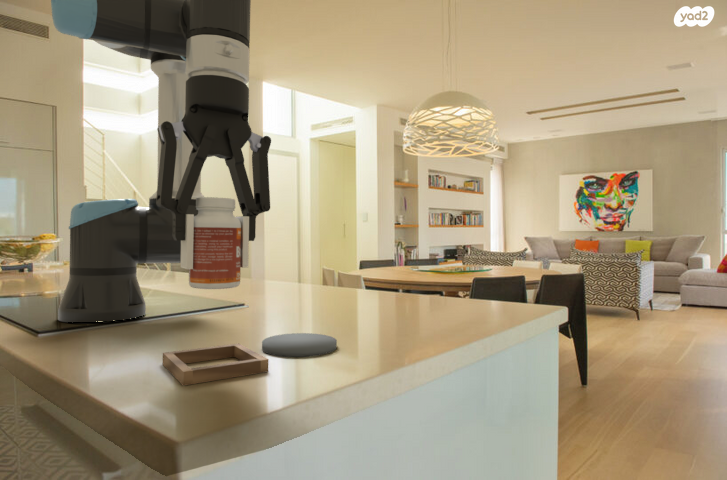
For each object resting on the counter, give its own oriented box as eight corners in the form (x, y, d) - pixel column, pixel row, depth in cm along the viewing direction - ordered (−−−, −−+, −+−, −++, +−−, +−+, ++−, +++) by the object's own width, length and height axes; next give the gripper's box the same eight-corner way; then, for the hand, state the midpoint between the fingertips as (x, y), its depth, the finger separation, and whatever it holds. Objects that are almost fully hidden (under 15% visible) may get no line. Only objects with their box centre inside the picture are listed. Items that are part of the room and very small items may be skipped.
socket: (162, 364, 59) (162, 352, 59) (238, 354, 65) (238, 343, 65) (183, 385, 51) (183, 372, 51) (268, 371, 57) (268, 359, 57)
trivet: (250, 344, 71) (250, 338, 71) (313, 336, 77) (313, 330, 77) (282, 361, 62) (282, 353, 62) (350, 350, 68) (350, 343, 68)
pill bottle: (247, 288, 58) (248, 198, 57) (195, 291, 54) (196, 195, 54) (231, 283, 63) (232, 200, 62) (183, 285, 59) (184, 198, 59)
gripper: (139, 54, 49) (136, 272, 50) (301, 89, 60) (297, 267, 61) (127, 73, 55) (125, 267, 56) (276, 101, 66) (273, 263, 67)
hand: (215, 267), depth 58 cm, fingers closed on pill bottle, 6 cm apart
